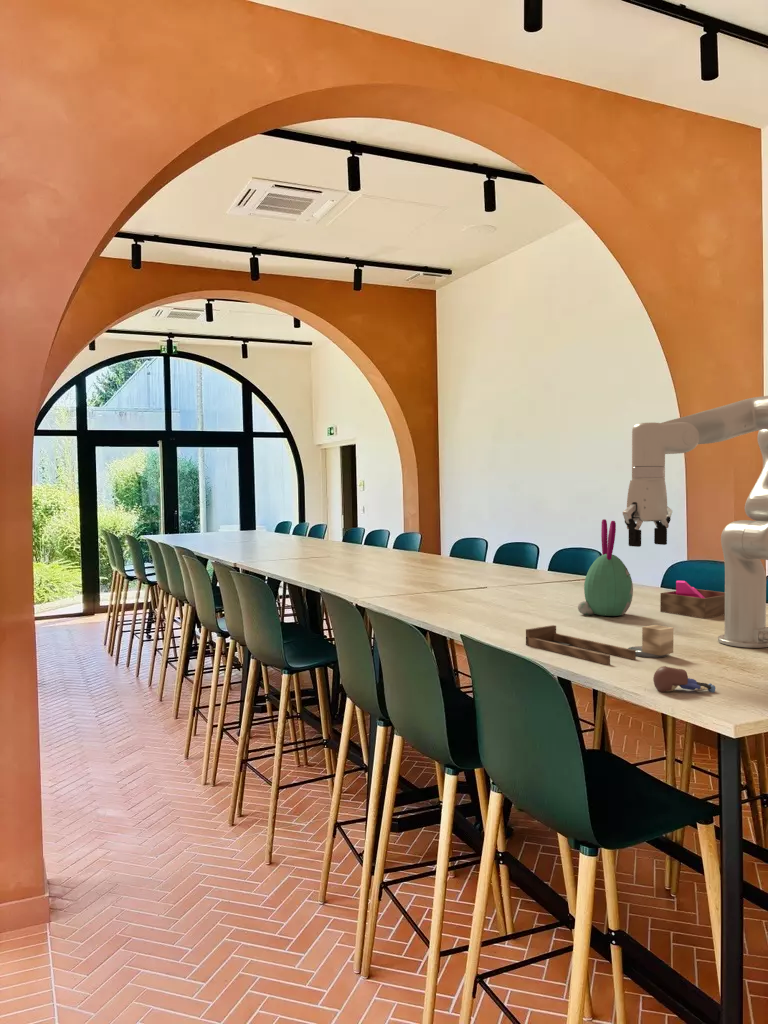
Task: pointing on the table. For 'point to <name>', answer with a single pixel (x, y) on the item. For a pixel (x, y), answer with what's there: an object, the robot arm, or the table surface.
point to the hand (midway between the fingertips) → (647, 545)
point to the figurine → (677, 680)
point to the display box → (694, 604)
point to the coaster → (644, 653)
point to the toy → (607, 581)
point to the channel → (563, 643)
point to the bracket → (687, 590)
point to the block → (657, 639)
